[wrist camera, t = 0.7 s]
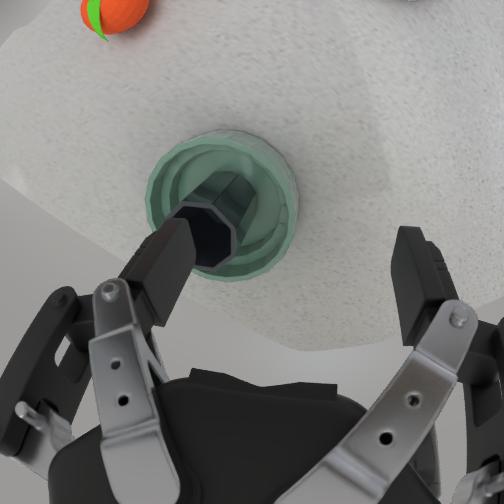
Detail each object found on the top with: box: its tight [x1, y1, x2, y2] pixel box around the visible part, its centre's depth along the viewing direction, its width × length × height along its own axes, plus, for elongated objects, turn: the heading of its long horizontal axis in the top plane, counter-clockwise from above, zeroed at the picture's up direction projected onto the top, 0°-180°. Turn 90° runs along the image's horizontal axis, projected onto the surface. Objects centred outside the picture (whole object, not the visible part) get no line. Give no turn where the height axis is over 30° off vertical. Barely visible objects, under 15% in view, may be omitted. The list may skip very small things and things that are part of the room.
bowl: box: [145, 130, 299, 282], centre depth 29 cm, size 14×14×5 cm
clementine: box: [81, 0, 149, 42], centre depth 19 cm, size 8×7×7 cm
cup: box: [163, 171, 257, 272], centre depth 27 cm, size 6×6×8 cm
